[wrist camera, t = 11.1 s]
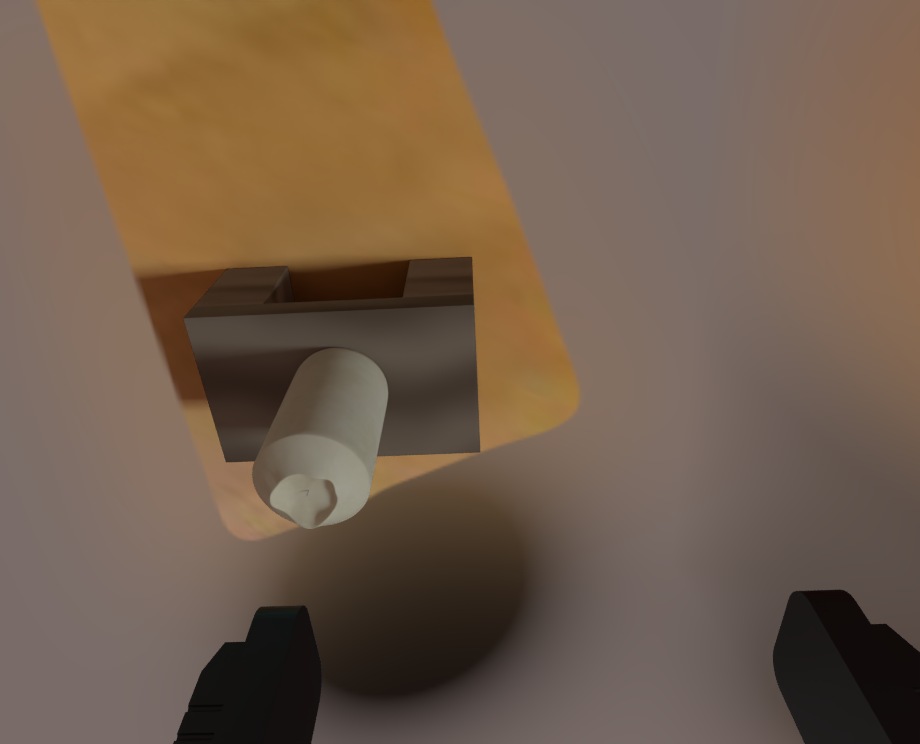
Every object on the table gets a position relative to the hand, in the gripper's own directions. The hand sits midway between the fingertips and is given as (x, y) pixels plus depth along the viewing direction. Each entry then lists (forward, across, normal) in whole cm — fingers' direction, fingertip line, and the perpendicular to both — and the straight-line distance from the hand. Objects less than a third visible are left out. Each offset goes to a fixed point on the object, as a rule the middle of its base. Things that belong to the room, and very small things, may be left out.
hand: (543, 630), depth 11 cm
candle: (+25, +9, +10) cm, 28 cm away
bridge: (+32, +9, +10) cm, 35 cm away
